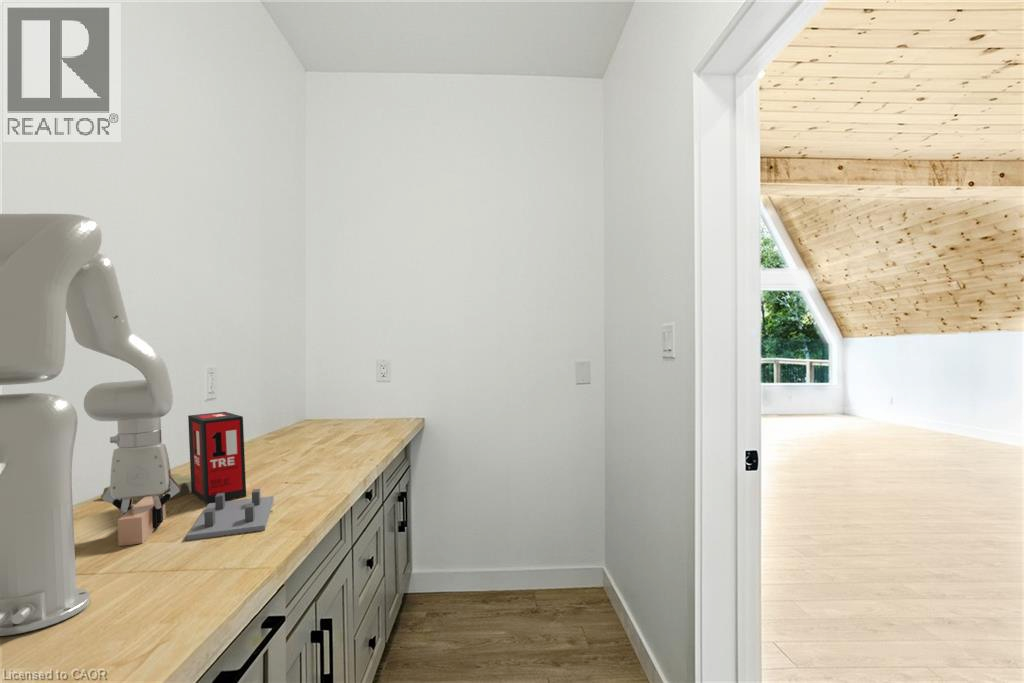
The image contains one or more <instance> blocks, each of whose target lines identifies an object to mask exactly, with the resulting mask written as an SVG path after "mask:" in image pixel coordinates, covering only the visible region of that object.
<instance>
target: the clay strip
mask: <svg viewBox="0 0 1024 683" xmlns="http://www.w3.org/2000/svg"><path fill="white" fill-rule="evenodd" d="M163 496H164V495H163ZM166 507H167V506H166V503H165V504H164V505H163V521H164V520H165V519H166V518H167V510H166V509H167V508H166ZM153 509H154V502H153V498H152V496H149V497H144V498H143V499H142V500H140V501H137V503H136V504H134V505H133V506H132V508H131V509H130V510H129V511H128V512H126V513H125V514H124V515H121V517H119V518H118V519H117V520H116V521H117V538H118V539H117V540H118V547H124V546H130V545H131V546H132V545H139V544H143V543H144V542H145V541H146V540H147V539H148V538H149V537H150V535H151V534H153V533H154V531H155V530H156V529H154V528H153V514H152V511H153Z"/></svg>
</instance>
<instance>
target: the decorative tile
mask: <svg viewBox="0 0 1024 683" xmlns="http://www.w3.org/2000/svg"><path fill="white" fill-rule="evenodd" d="M171 477H172V478H173V479H174V481H175V482H176V483H177V484H178V485H179V487H180V488H181V490H180V491H179V492H178V493H177V494H176V495H174V496H173V497H171V498H170V499H169V500H168V501H170V500H172V499H175V497H176V498H177V497H181V496H184V495H187V494H190V493H192V492H191V473H189V474H187V473H186V474H184V473H183V474H180V473H171ZM109 487H110V485H108V486H106V487H105V488H103V493H101V496H100V498H101V499H102V498H103V496H104V494H105V493H106V491H107V490H108V489H109ZM170 490H171V489H170V488H168V489H167V490H166V492H164V493H162V494H163V495H165V494H166V493H168V492H169V491H170ZM145 497H149V496H145ZM143 498H144V497H136V498H133V501H132V502H139V501H140V500H142V499H143Z"/></svg>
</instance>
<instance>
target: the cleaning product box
mask: <svg viewBox="0 0 1024 683" xmlns="http://www.w3.org/2000/svg"><path fill="white" fill-rule="evenodd" d="M187 417H188V418H187V419H188V420H187V421H188V422H187V423H188V441H189V443H188V445H189V463H190V464H189V466H190V467H189V468H190V469H189V470H190V474H191V492H190V493H192V494H193V495H195V496H196V497H197V498H198V499H200V501H202V502H203V503H204V504H206V505H208V504H209V503H215V496H216V495H217V493H225V502H226V501H233V500H237V499H242V498H246V497H247V482H246V459H245V439H244V438H245V437H244V436H245V435H244V432H245V431H244V416H242V415H239V414H235V413H231V412H227V411H221V412H220V411H219V412H210V413H209V412H207V413H200V414H190V415H188V416H187Z"/></svg>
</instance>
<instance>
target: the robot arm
mask: <svg viewBox="0 0 1024 683" xmlns="http://www.w3.org/2000/svg"><path fill="white" fill-rule="evenodd" d="M102 237H103V236H102V230H101V227H100V226H99V225H98V223H97V222H96V221H95V220H94V219H91V218H90V217H87V216H84V215H80V214H73V213H72V214H71V213H0V386H10V385H11V386H12V385H28V384H37V383H44V382H48V381H51V380H53V379H55V378H57V377H58V376H59V375H60V374H61V373H62V371H63V369H64V365H65V358H66V343H67V342H66V340H67V339H66V338H67V337H66V335H67V334H66V332H67V331H66V330H67V328H66V326H67V324H66V323H67V322H66V321H67V317H68V321H69V325H70V327H71V330H72V334H73V337H74V340H75V342H76V343H77V344H78V345H80V346H81V347H83V348H85V349H88V350H90V351H94V352H97V353H100V354H102V355H105V356H109V357H112V358H114V359H118V360H120V361H123V362H125V363H127V364H129V365H131V366H132V367H134V368H136V370H137V371H139V372H140V373H141V374H142V375H143V377H144V379H139V380H137V379H136V380H125V381H114V382H112V381H110V382H103V383H99V384H95V385H94V386H92V387H91V388H90V389H88V391H87V392H86V394H85V396H84V397H83V409H84V412H85V413H86V415H87V416H88V417H89V418H91V419H92V420H95V421H98V422H117V433H116V435H114V436H109V443H110V444H116V446H117V448H115V449H114V448H113V452H112V457H111V466H110V477H109V478H110V480H109V482H110V483H109V486H110V487H109V486H108V487H109V489H108V490H107V491H106V493H105V494H104V496H103V498H101V499H102V500H103V501H104V502H106V503H109V504H112V505H113V506H114V507H116V508H117V509H118V510H120V512H121V513H123V515H124V514H125V513H126V512H128V511H129V510H130V509H131V508H132V507H133V506H132V505H133V502H134V501H133V498H136V497H145V496H152V498H153V502H154V509H153V511H152V514H153V528H154V529H155V530H156V529H158V528H159V527H160V526H161V524H162V523H163V521H164V520H163V505H164V504H166V503H168V501H170V500H171V499H170V498H171V497H173V496H174V495H176V494H177V493H178V492H179V491H180V490H181V488H180V487H179V485H178V484H177V483H176V482H175V481H174V479H173V478H172V477H171V474H172V471H171V464H170V460H169V453H168V450H167V447H166V444H165V443H162V422H161V421H162V420H161V419H162V418H163V417H164V416H166V415H168V413H169V412H170V411H171V409H172V406H173V402H174V395H173V388H172V383H171V379H170V375H169V371H168V367H167V365H166V361H165V360H164V359H163V358H162V356H161V355H160V354H159V352H158V351H157V350H155V348H153V346H151V345H150V343H148V342H147V341H146V340H145V339H143V338H142V337H140V335H137V334H136V333H135V332H134V331H133V330H132V329H131V327H130V324H129V320H128V315H127V312H126V309H125V304H124V300H123V296H122V292H121V288H120V283H119V281H118V277H117V273H116V269H115V266H114V263H113V262H112V261H111V259H110V258H108V256H106V255H104V254H103V253H99V251H100V249H101V245H102ZM66 315H67V316H66ZM77 430H78V413H77V410H76V408H75V406H74V404H72V403H71V401H69V400H68V399H67V398H65V397H62V396H60V395H56V394H51V393H43V392H42V393H41V392H35V393H34V392H31V393H30V392H29V393H9V394H7V393H6V394H0V464H4V467H3V469H2V471H1V472H0V637H6V636H12V635H19V634H23V633H29V632H33V631H36V630H40V629H42V628H47V627H49V626H52V625H55V624H58V623H61V622H63V621H66V620H68V619H70V618H72V617H73V616H76V615H77V614H79V613H80V612H82V611H84V609H86V608H87V606H89V605H90V602H91V594H90V592H89V591H88V590H86V589H83V588H79V587H78V588H77V575H76V574H77V572H76V552H75V550H76V549H75V531H74V530H75V526H74V506H73V505H74V504H73V503H74V502H73V478H72V477H73V476H72V475H73V473H72V472H73V458H74V457H73V455H74V448H75V443H76V437H77V432H78V431H77ZM168 488H170V489H171V490H170V491H169V492H168V493H166V494H165V495H164V496H163V494H162V493H164V492H166V490H167V489H168ZM169 499H170V500H169ZM123 515H122V516H123Z"/></svg>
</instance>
